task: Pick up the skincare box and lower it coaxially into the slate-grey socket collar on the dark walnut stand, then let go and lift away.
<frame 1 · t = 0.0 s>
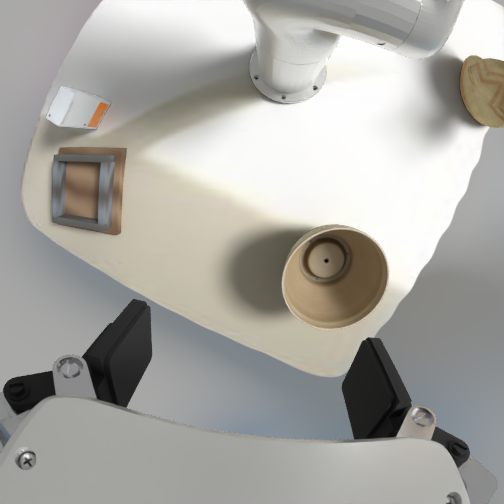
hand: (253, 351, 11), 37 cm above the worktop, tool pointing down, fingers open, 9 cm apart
skincare box: (98, 112, 42), on the worktop
planter bowl: (323, 256, 48), on the worktop
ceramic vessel: (476, 96, 35), on the worktop
socket stand: (89, 188, 46), on the worktop
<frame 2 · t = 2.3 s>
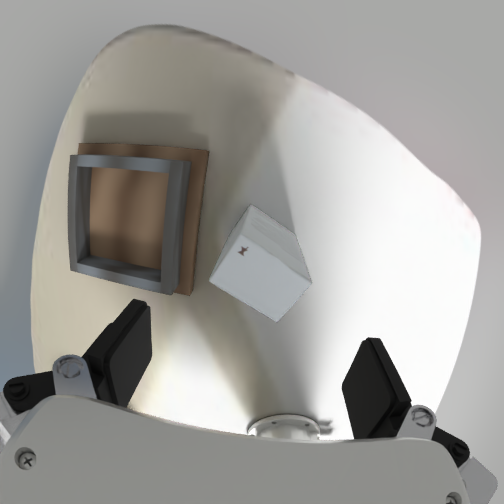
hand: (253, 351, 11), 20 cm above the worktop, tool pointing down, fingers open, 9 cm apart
skincare box: (263, 234, 30), on the worktop
socket stand: (133, 214, 30), on the worktop
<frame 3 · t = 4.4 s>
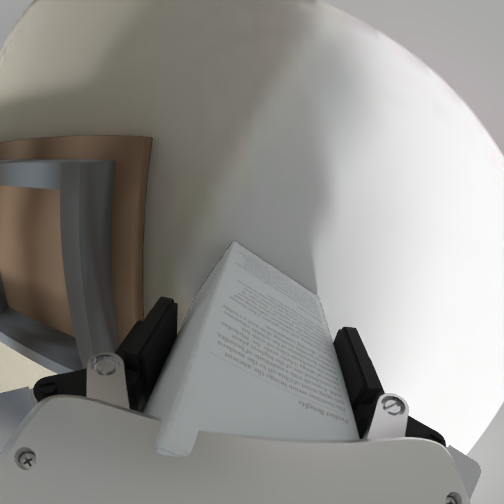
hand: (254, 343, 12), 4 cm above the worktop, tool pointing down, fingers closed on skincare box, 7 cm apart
skincare box: (258, 295, 16), on the worktop, touching gripper
socket stand: (48, 252, 16), on the worktop
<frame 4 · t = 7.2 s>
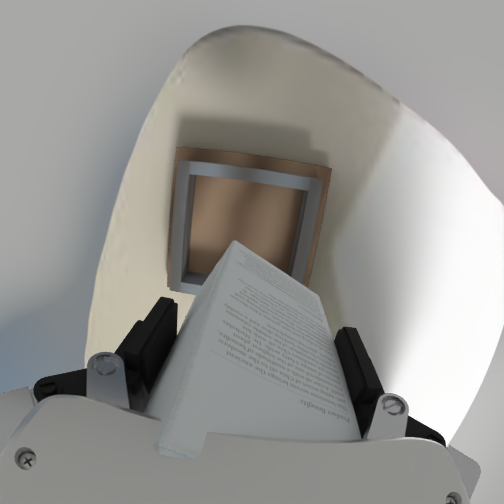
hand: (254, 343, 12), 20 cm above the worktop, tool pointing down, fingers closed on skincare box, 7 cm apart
skincare box: (258, 294, 16), point 15 cm above the worktop, touching gripper
socket stand: (243, 227, 31), on the worktop
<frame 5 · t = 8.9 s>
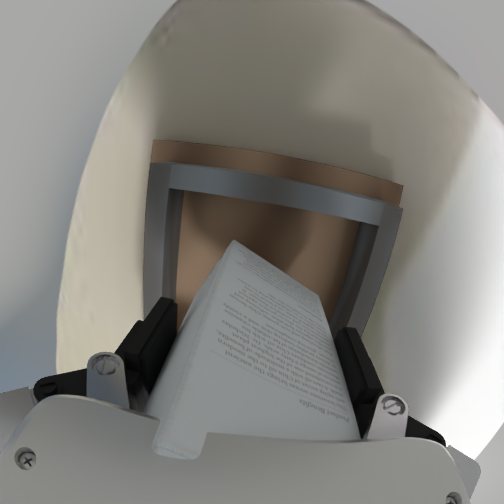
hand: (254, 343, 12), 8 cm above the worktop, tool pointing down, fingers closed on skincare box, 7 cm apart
skincare box: (258, 294, 16), point 4 cm above the worktop, touching gripper
socket stand: (260, 271, 19), on the worktop
when the fingers open (7 cm above the worktop, at t = 10.1 s): skincare box stays where it is, resting on socket stand.
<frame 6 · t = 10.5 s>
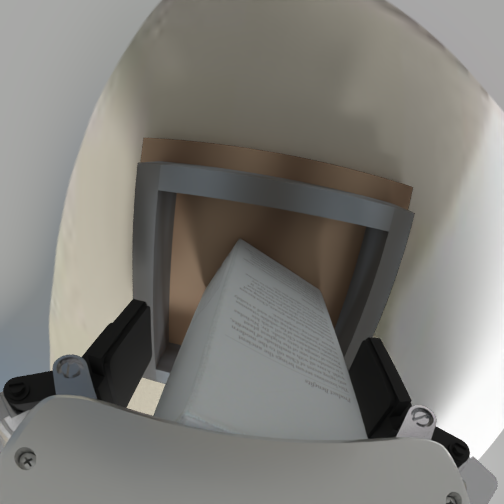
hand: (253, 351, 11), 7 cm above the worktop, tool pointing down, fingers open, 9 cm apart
skincare box: (263, 289, 17), point 1 cm above the worktop, touching socket stand
socket stand: (259, 279, 18), on the worktop
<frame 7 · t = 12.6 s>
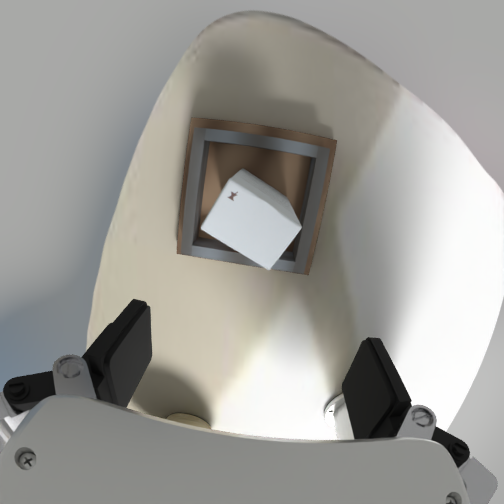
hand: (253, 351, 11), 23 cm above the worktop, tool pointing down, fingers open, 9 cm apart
skincare box: (255, 198, 30), point 1 cm above the worktop, touching socket stand
planter bowl: (189, 424, 47), on the worktop
socket stand: (253, 195, 31), on the worktop
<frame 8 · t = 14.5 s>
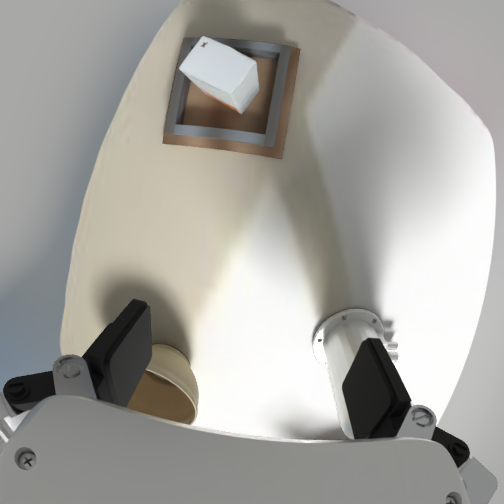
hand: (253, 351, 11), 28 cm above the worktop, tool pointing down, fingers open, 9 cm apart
skincare box: (232, 92, 31), point 1 cm above the worktop, touching socket stand
planter bowl: (167, 361, 48), on the worktop
socket stand: (231, 93, 33), on the worktop
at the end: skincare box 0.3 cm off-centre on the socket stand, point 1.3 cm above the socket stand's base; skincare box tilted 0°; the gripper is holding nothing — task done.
